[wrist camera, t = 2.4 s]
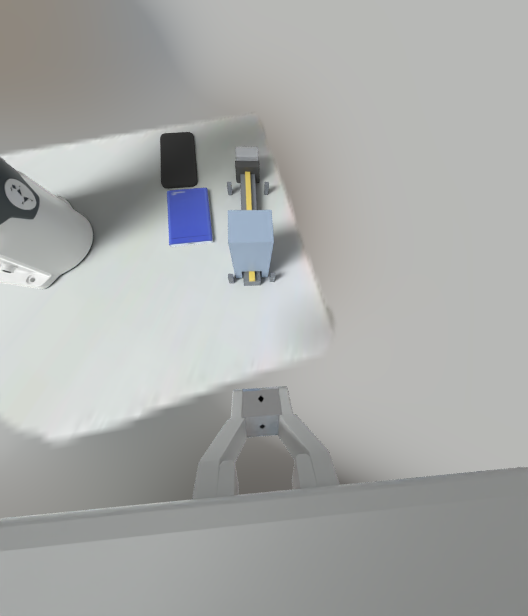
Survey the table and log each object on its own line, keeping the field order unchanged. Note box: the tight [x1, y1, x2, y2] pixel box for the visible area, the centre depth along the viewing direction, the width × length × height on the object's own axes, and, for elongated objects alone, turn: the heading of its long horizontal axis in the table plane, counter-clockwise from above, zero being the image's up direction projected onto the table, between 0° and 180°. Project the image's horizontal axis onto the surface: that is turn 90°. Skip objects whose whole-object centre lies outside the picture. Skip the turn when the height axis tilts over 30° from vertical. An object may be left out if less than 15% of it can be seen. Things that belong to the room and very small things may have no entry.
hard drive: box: [167, 188, 213, 247], centre depth 40 cm, size 2×8×12 cm
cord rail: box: [227, 147, 276, 286], centre depth 39 cm, size 8×28×4 cm, turn 3°
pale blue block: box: [228, 210, 274, 278], centre depth 33 cm, size 6×5×12 cm
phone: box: [160, 132, 197, 189], centre depth 44 cm, size 7×1×15 cm
